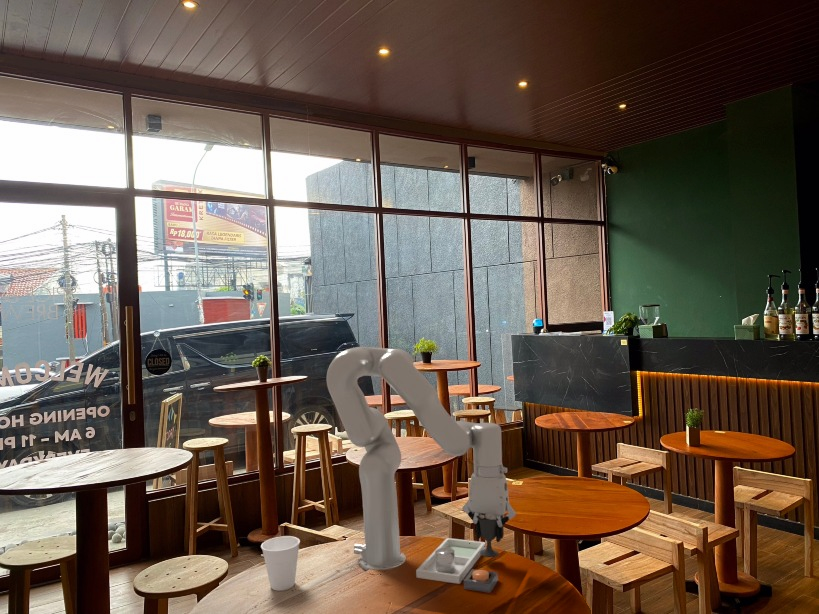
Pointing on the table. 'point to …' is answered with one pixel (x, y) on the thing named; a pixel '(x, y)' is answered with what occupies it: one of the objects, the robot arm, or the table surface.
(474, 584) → the button housing
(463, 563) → the shallow white tray
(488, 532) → the sundae
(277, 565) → the cup
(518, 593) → the table surface
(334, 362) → the robot arm
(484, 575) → the button cap
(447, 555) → the cylinder
